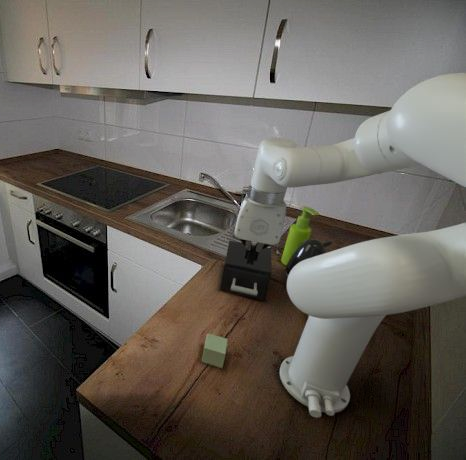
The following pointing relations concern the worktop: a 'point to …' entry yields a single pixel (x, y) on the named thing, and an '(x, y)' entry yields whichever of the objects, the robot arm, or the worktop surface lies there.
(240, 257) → the black drawer box
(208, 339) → the block
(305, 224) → the soap dispenser
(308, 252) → the black rounded piece
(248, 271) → the black drawer with handle
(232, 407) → the worktop surface
